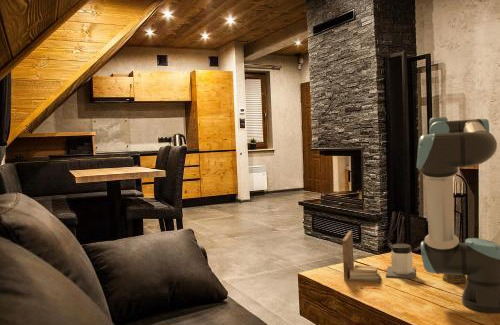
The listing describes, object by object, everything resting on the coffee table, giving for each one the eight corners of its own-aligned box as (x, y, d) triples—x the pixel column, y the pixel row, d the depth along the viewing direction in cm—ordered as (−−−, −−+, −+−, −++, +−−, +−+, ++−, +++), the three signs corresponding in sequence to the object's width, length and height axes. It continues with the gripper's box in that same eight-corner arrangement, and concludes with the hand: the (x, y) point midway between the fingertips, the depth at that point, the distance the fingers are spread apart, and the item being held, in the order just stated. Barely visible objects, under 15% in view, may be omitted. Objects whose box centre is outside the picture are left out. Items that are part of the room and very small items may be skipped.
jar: (399, 267, 200) (398, 242, 199) (415, 271, 193) (414, 244, 193) (388, 272, 194) (387, 246, 193) (405, 276, 188) (404, 249, 187)
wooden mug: (461, 288, 172) (459, 244, 171) (438, 278, 185) (436, 237, 184) (479, 285, 174) (478, 241, 173) (455, 275, 187) (454, 235, 186)
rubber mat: (414, 279, 186) (414, 277, 186) (385, 277, 190) (385, 275, 190) (415, 269, 199) (415, 267, 199) (388, 267, 203) (387, 266, 203)
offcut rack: (379, 283, 183) (377, 241, 182) (344, 280, 188) (342, 240, 187) (383, 269, 201) (381, 231, 200) (350, 267, 206) (349, 230, 206)
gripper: (450, 153, 177) (452, 204, 178) (447, 150, 200) (448, 195, 201) (431, 154, 179) (432, 204, 180) (429, 151, 202) (431, 196, 204)
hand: (441, 200), depth 191 cm, fingers open, 13 cm apart
